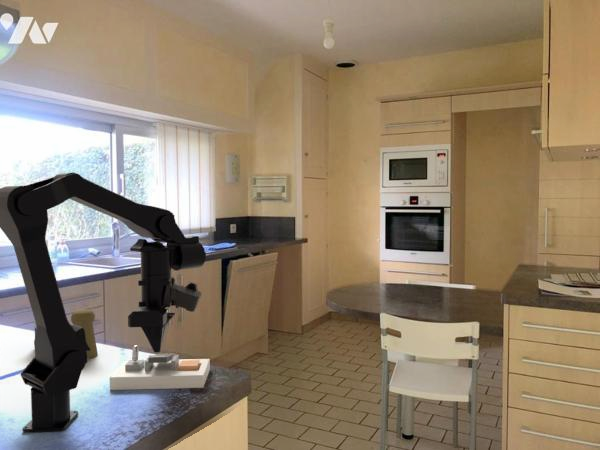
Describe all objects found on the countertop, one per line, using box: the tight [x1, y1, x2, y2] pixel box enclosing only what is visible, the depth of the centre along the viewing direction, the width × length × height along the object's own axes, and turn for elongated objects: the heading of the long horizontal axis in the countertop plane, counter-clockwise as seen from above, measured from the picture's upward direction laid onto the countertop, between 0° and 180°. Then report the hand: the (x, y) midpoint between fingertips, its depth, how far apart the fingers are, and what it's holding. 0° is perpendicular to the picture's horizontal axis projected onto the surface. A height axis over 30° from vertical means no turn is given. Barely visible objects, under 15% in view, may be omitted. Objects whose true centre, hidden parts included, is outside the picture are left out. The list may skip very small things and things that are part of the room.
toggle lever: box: [131, 344, 140, 361], centre depth 102 cm, size 1×1×3 cm
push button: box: [179, 360, 200, 371], centre depth 102 cm, size 4×4×3 cm
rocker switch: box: [147, 353, 176, 363], centre depth 101 cm, size 8×4×1 cm, turn 3°
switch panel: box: [109, 354, 211, 391], centre depth 102 cm, size 10×18×4 cm, turn 93°
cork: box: [70, 308, 99, 360], centre depth 117 cm, size 6×6×11 cm
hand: (157, 351), depth 98 cm, fingers closed
